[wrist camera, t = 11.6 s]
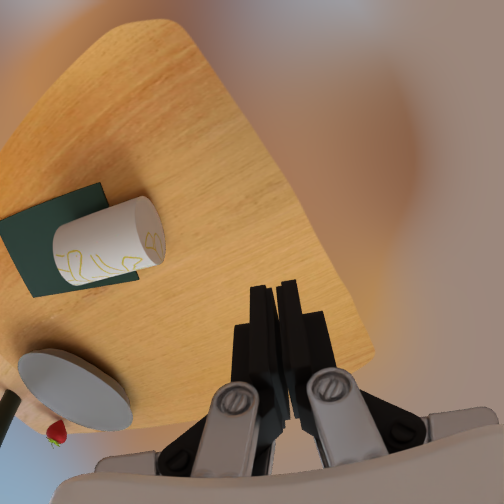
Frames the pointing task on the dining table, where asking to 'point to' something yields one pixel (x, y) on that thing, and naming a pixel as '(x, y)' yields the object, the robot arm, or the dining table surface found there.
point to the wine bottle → (7, 411)
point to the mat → (51, 240)
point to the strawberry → (57, 433)
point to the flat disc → (75, 389)
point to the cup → (110, 242)
